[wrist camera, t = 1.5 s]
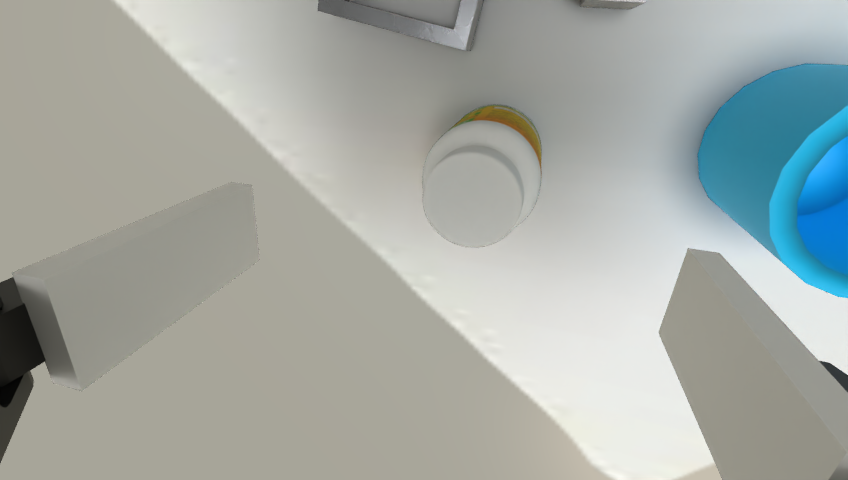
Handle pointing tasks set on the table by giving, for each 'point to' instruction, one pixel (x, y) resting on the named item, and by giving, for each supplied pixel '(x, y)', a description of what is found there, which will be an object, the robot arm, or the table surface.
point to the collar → (412, 22)
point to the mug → (787, 168)
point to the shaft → (612, 3)
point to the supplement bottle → (482, 176)
